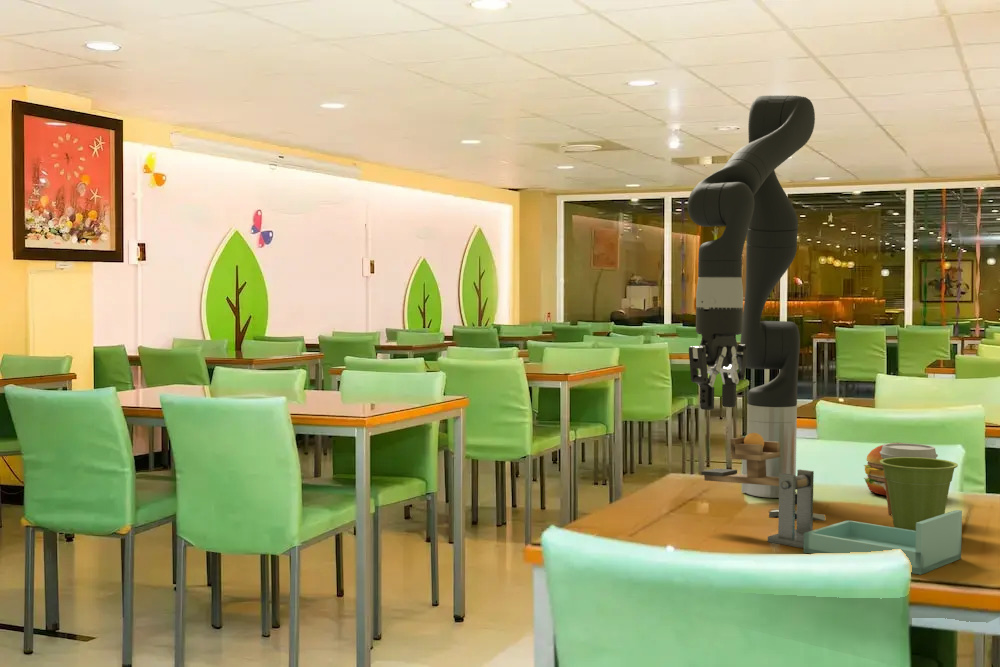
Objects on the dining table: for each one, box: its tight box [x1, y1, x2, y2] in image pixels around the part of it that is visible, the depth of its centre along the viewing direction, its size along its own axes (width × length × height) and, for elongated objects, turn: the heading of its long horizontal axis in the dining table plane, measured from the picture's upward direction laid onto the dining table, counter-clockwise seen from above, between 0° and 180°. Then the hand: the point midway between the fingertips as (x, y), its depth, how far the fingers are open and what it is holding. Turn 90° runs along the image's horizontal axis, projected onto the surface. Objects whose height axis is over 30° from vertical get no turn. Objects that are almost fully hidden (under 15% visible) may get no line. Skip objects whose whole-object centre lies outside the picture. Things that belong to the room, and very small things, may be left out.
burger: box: [863, 442, 890, 496], centre depth 212 cm, size 14×14×10 cm
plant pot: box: [880, 457, 959, 531], centre depth 178 cm, size 12×12×11 cm
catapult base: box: [767, 469, 815, 549], centre depth 170 cm, size 6×8×11 cm
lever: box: [700, 436, 809, 491], centre depth 175 cm, size 17×6×8 cm, turn 45°
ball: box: [744, 433, 764, 447], centre depth 175 cm, size 3×3×3 cm
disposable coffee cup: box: [880, 442, 939, 515], centre depth 191 cm, size 10×10×12 cm
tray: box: [803, 509, 963, 576], centre depth 160 cm, size 18×14×7 cm
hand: (717, 407), depth 180 cm, fingers open, 5 cm apart
